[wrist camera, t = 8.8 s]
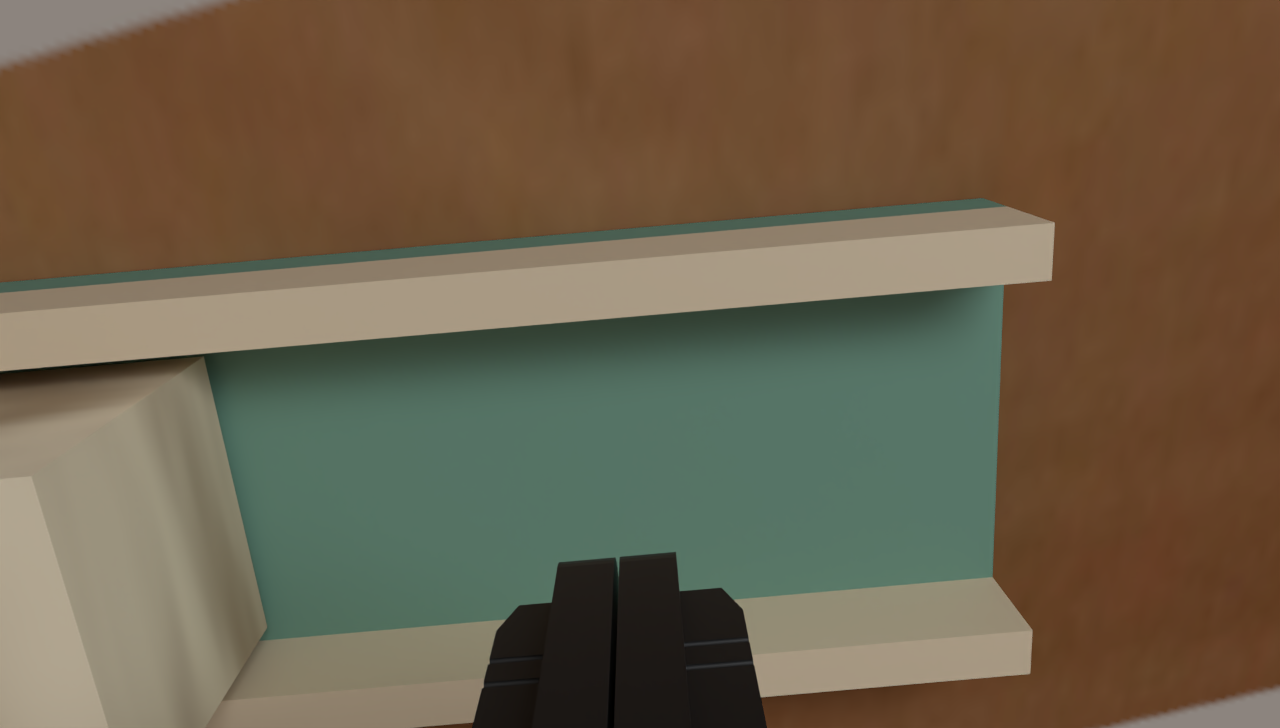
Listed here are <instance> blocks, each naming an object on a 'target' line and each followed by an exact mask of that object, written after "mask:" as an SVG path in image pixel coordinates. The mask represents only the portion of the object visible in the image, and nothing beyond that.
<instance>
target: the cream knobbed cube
mask: <svg viewBox="0 0 1280 728" xmlns="http://www.w3.org/2000/svg"><path fill="white" fill-rule="evenodd" d="M266 629H267V623H266V619H265V615H264V611H263V606H262V602H261V598H260V594H259V589H258V585H257V581H256V577H255V572H254V568H253V564H252V560H251V555H250V551H249V547H248V543H247V538H246V534H245V530H244V526H243V521H242V517H241V513H240V509H239V504H238V500H237V496H236V492H235V487H234V483H233V479H232V475H231V470H230V466H229V462H228V458H227V453H226V449H225V445H224V441H223V436H222V432H221V428H220V424H219V419H218V415H217V411H216V407H215V402H214V398H213V394H212V390H211V385H210V381H209V377H208V373H207V368H206V364H205V360H204V357H192V358H180V359H169V360H157V361H146V362H134V363H122V364H111V365H99V366H88V367H76V368H65V369H53V370H41V371H30V372H18V373H7V374H0V728H205V727H206V725H207V724H208V722H209V720H210V719H211V717H212V716H213V714H214V712H215V711H216V709H217V708H218V706H219V704H220V703H221V701H222V700H223V698H224V696H225V695H226V693H227V691H228V690H229V688H230V687H231V685H232V683H233V682H234V680H235V679H236V677H237V675H238V674H239V672H240V671H241V669H242V667H243V666H244V664H245V663H246V661H247V659H248V658H249V656H250V655H251V653H252V651H253V650H254V648H255V646H256V645H257V643H258V642H259V640H260V638H261V637H262V635H263V634H264V632H265V630H266Z"/></svg>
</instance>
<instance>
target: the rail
mask: <svg viewBox="0 0 1280 728" xmlns="http://www.w3.org/2000/svg"><path fill="white" fill-rule="evenodd" d="M1054 226H1055V223H1054V222H1051V221H1048V220H1045V219H1042V218H1039V217H1036V216H1033V215H1030V214H1027V213H1025V212H1022V211H1019V210H1016V209H1013V208H1010V207H1007V206H1004V205H1001V204H998V203H995V202H992V201H989V200H986V199H983V198H979V199H968V200H956V201H944V202H933V203H921V204H909V205H898V206H886V207H875V208H863V209H851V210H840V211H828V212H816V213H805V214H793V215H782V216H770V217H758V218H747V219H735V220H724V221H712V222H700V223H689V224H677V225H665V226H654V227H642V228H631V229H619V230H607V231H596V232H584V233H572V234H561V235H549V236H538V237H526V238H514V239H503V240H491V241H479V242H468V243H456V244H445V245H433V246H421V247H410V248H398V249H387V250H375V251H363V252H352V253H340V254H328V255H317V256H305V257H294V258H282V259H270V260H259V261H247V262H235V263H224V264H212V265H201V266H189V267H177V268H166V269H154V270H142V271H131V272H119V273H108V274H96V275H84V276H73V277H61V278H50V279H38V280H26V281H15V282H3V283H0V374H7V373H18V372H30V371H41V370H53V369H65V368H76V367H88V366H99V365H111V364H122V363H134V362H146V361H157V360H169V359H180V358H192V357H204V360H205V364H206V368H207V373H208V377H209V381H210V385H211V390H212V394H213V398H214V402H215V407H216V411H217V415H218V419H219V424H220V428H221V432H222V436H223V441H224V445H225V449H226V453H227V458H228V462H229V466H230V470H231V475H232V479H233V483H234V487H235V492H236V496H237V500H238V504H239V509H240V513H241V517H242V521H243V526H244V530H245V534H246V538H247V543H248V547H249V551H250V555H251V560H252V564H253V568H254V572H255V577H256V581H257V585H258V589H259V594H260V598H261V602H262V606H263V611H264V615H265V619H266V623H267V629H266V630H265V632H264V634H263V635H262V637H261V638H260V640H259V642H258V643H257V645H256V646H255V648H254V650H253V651H252V653H251V655H250V656H249V658H248V659H247V661H246V663H245V664H244V666H243V667H242V669H241V671H240V672H239V674H238V675H237V677H236V679H235V680H234V682H233V683H232V685H231V687H230V688H229V690H228V691H227V693H226V695H225V696H224V698H223V700H222V701H221V703H220V704H219V706H218V708H217V709H216V711H215V712H214V714H213V716H212V717H211V719H210V720H209V722H208V724H207V725H206V727H205V728H415V727H427V726H438V725H449V724H461V723H472V722H474V718H475V714H476V710H477V706H478V702H479V698H480V694H481V690H482V688H484V683H483V682H484V678H485V674H486V670H487V666H488V664H490V661H489V658H490V654H491V650H492V646H493V642H494V638H495V634H496V631H497V629H498V628H499V627H500V626H501V625H502V624H503V623H504V622H505V620H506V619H507V618H508V617H509V616H510V615H511V614H512V613H513V611H514V610H515V609H516V608H517V607H518V606H519V605H528V604H540V603H551V602H552V597H553V591H554V585H555V578H556V572H557V566H558V563H559V562H567V561H579V560H590V559H602V558H613V557H615V558H616V561H617V567H618V574H619V560H620V557H622V556H634V555H645V554H657V553H668V552H676V557H677V567H678V578H679V589H680V591H688V590H699V589H711V588H722V589H723V590H724V591H725V592H726V593H727V594H728V595H729V596H730V597H731V598H732V599H733V600H734V601H735V602H736V603H737V604H738V605H739V606H740V607H741V608H742V609H743V612H744V617H745V622H746V627H747V632H748V637H749V642H750V647H751V652H752V657H753V664H754V666H755V671H756V676H757V681H758V686H759V691H760V696H761V697H770V696H782V695H793V694H805V693H816V692H828V691H839V690H850V689H862V688H873V687H885V686H896V685H908V684H919V683H931V682H942V681H954V680H965V679H976V678H988V677H999V676H1011V675H1022V674H1030V667H1031V648H1032V629H1031V628H1030V626H1029V625H1028V624H1027V622H1026V621H1025V620H1024V618H1023V617H1022V616H1021V614H1020V613H1019V612H1018V611H1017V609H1016V608H1015V607H1014V605H1013V604H1012V603H1011V601H1010V600H1009V599H1008V597H1007V596H1006V595H1005V593H1004V592H1003V591H1002V589H1001V588H1000V587H999V585H998V584H997V583H996V581H995V580H994V579H993V577H992V574H993V548H994V522H995V496H996V470H997V444H998V418H999V392H1000V366H1001V341H1002V315H1003V289H1004V285H1005V284H1017V283H1028V282H1040V281H1051V280H1052V263H1053V244H1054Z"/></svg>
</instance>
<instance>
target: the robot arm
mask: <svg viewBox="0 0 1280 728" xmlns="http://www.w3.org/2000/svg"><path fill="white" fill-rule="evenodd" d="M489 661H490V664H488V666H487V670H486V674H485V678H484V682H483V683H484V688H482V690H481V694H480V698H479V702H478V706H477V710H476V714H475V718H474V722H473V726H472V728H767V726H766V721H765V716H764V711H763V706H762V701H761V696H760V691H759V686H758V681H757V676H756V671H755V666H754V664H753V657H752V652H751V647H750V642H749V637H748V632H747V627H746V622H745V617H744V612H743V609H742V608H741V607H740V606H739V605H738V604H737V603H736V602H735V601H734V600H733V599H732V598H731V597H730V596H729V595H728V594H727V593H726V592H725V591H724V590H723V589H722V588H711V589H699V590H688V591H680V589H679V578H678V567H677V557H676V552H668V553H657V554H645V555H634V556H622V557H620V560H619V574H618V567H617V561H616V558H615V557H613V558H602V559H590V560H579V561H567V562H559V563H558V566H557V572H556V578H555V585H554V591H553V597H552V602H551V603H540V604H528V605H519V606H518V607H517V608H516V609H515V610H514V611H513V613H512V614H511V615H510V616H509V617H508V618H507V619H506V620H505V622H504V623H503V624H502V625H501V626H500V627H499V628H498V629H497V631H496V634H495V638H494V642H493V646H492V650H491V654H490V658H489Z"/></svg>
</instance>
